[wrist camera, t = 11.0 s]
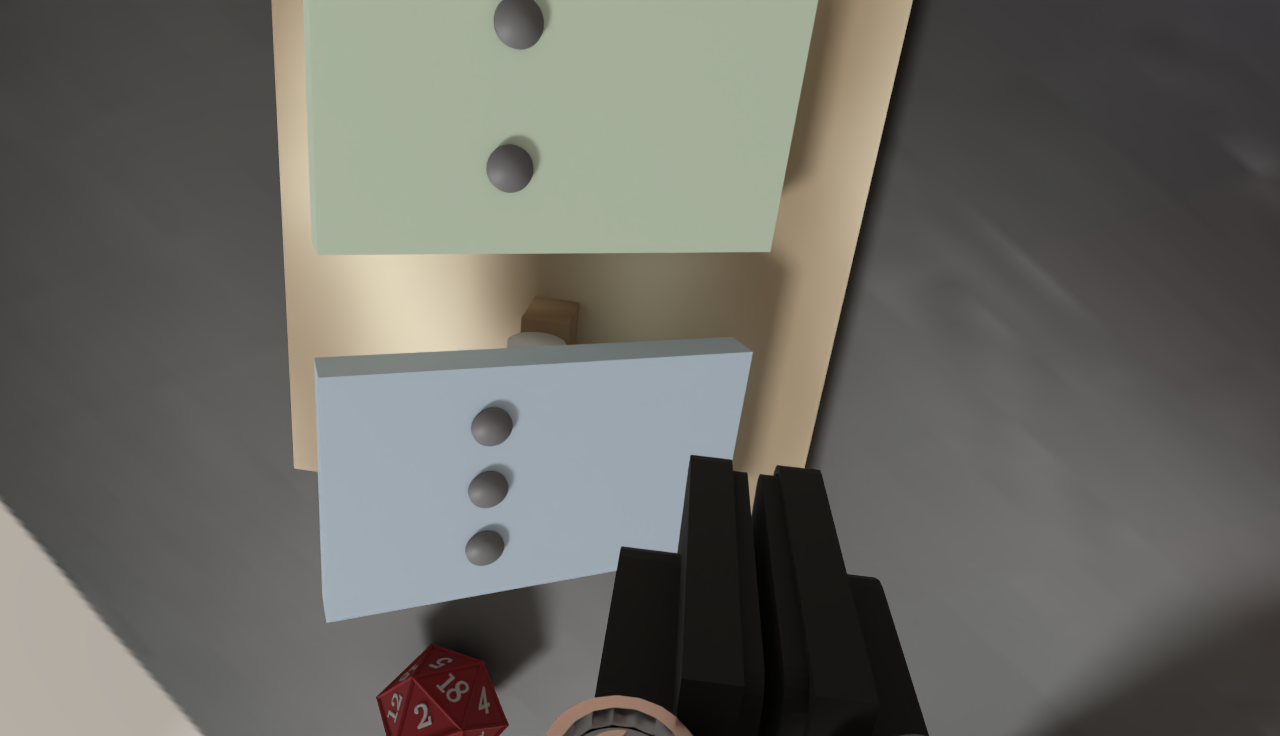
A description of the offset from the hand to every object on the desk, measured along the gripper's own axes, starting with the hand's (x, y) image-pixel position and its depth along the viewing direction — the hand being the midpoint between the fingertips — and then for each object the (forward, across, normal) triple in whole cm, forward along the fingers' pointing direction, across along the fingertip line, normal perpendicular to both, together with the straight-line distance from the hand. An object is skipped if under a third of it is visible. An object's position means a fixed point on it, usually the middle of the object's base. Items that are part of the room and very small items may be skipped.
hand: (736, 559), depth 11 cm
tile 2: (+9, +4, -5) cm, 11 cm away
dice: (+13, +7, +15) cm, 21 cm away
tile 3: (+9, +4, +4) cm, 11 cm away
